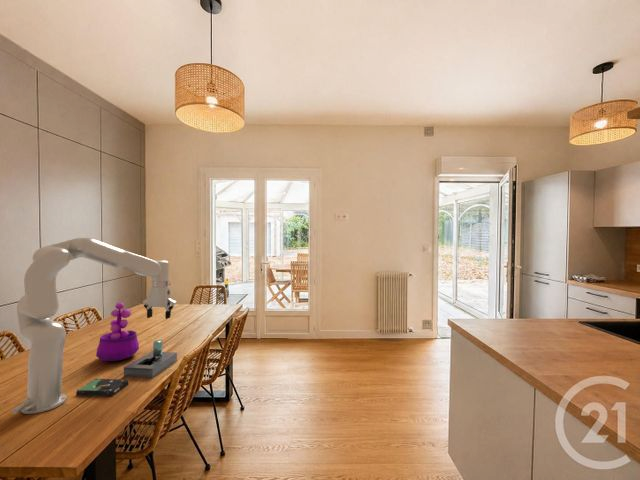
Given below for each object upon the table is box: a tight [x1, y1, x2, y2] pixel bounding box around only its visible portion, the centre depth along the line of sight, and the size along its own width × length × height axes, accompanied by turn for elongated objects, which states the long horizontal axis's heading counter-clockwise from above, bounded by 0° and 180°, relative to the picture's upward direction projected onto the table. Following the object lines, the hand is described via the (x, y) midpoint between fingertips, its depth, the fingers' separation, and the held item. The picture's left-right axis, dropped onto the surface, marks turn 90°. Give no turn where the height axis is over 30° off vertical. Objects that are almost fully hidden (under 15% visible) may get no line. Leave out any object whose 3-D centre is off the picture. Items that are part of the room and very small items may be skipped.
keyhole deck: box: [123, 350, 178, 379], centre depth 143 cm, size 20×14×4 cm
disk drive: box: [75, 378, 129, 398], centre depth 121 cm, size 10×3×15 cm
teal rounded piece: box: [151, 339, 164, 365], centre depth 147 cm, size 5×5×12 cm
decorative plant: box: [95, 301, 140, 362], centre depth 154 cm, size 19×18×30 cm
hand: (158, 317), depth 147 cm, fingers open, 9 cm apart
